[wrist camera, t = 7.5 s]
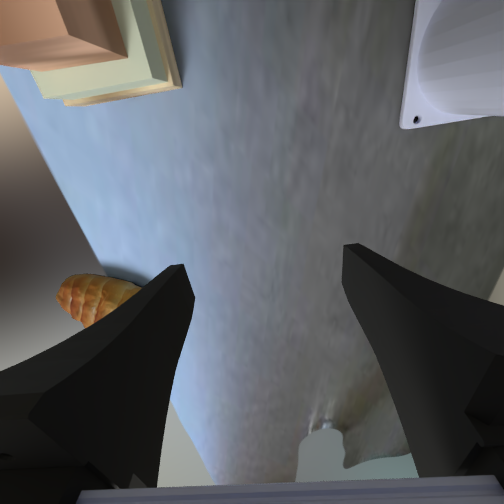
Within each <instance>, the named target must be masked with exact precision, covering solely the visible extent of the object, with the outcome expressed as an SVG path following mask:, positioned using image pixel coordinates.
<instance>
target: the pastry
mask: <svg viewBox="0 0 504 504" xmlns="http://www.w3.org/2000/svg"><path fill="white" fill-rule="evenodd" d="M142 288H143V287H138V286H136V285H134V284H133V283H132V282H128V281H124V280H119V279H116V278H112V277H106V276H101V275H96V274H79V275H73V276H70V277H68V278H67V279H66V280H65V281H64V282H63V283H62V285H61V287H60V289H59V291H58V293H57V295H56V299H57V301H58V302H59V303H60V305H61V306H62V308H63V309H64V310H65V311H67V312H68V313H70V314H71V315H72V318H73V319H75V320H78V321H81V322H82V323H83V325H84V327H85V328H87V327H89V326H90V325H92V324H94V323H95V322H97V321H98V320H100V319H101V318H103V317H104V316H106V315H107V314H109V313H110V312H112V311H113V310H115V309H116V308H117V307H119V306H120V305H121V304H123V303H124V302H125V301H126V300H128V299H129V298H130V297H132V296H133V295H134V294H136V293H137V292H138V291H139V290H141V289H142Z"/></svg>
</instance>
